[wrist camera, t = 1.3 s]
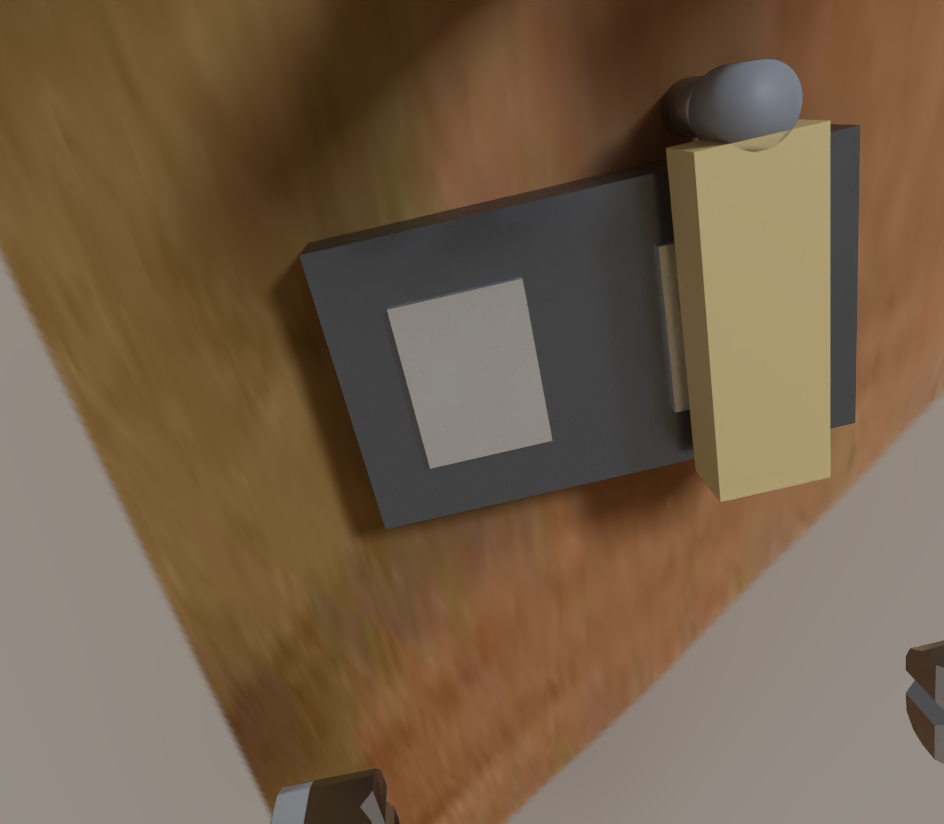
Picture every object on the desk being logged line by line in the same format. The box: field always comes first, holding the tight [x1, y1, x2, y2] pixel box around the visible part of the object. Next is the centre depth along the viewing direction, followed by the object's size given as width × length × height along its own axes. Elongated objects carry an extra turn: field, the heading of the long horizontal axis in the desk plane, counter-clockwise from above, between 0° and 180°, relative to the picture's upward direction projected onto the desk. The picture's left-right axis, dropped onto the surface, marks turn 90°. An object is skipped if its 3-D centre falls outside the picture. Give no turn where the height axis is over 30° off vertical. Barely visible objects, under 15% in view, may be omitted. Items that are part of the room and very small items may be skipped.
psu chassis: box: [299, 76, 860, 529], centre depth 32 cm, size 17×24×4 cm
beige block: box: [666, 59, 830, 502], centre depth 29 cm, size 18×5×3 cm, turn 12°
